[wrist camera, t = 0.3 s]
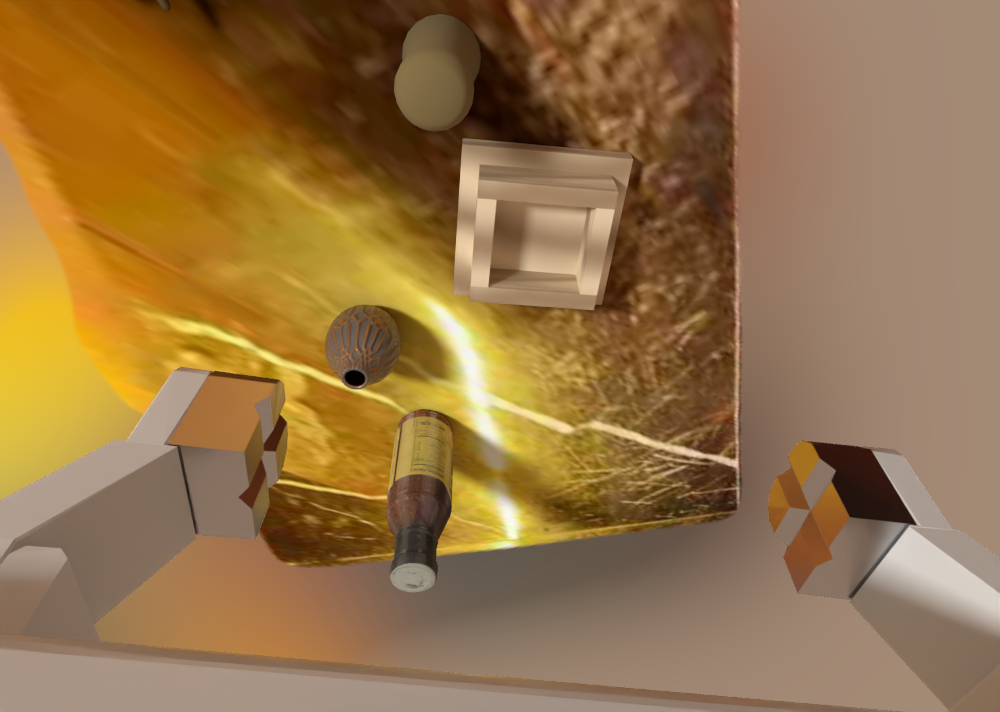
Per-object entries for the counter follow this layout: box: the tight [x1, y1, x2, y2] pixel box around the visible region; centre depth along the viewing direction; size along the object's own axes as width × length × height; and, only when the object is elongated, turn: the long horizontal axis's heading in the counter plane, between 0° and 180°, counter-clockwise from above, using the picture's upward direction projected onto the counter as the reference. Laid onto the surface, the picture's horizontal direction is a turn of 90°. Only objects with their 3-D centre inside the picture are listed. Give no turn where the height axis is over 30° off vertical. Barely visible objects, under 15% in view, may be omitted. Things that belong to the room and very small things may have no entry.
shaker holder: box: [453, 138, 633, 310], centre depth 57 cm, size 14×14×5 cm
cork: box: [394, 14, 481, 132], centre depth 47 cm, size 6×6×11 cm
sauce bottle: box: [386, 410, 453, 592], centre depth 65 cm, size 6×6×20 cm
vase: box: [325, 305, 401, 389], centre depth 62 cm, size 7×7×9 cm
